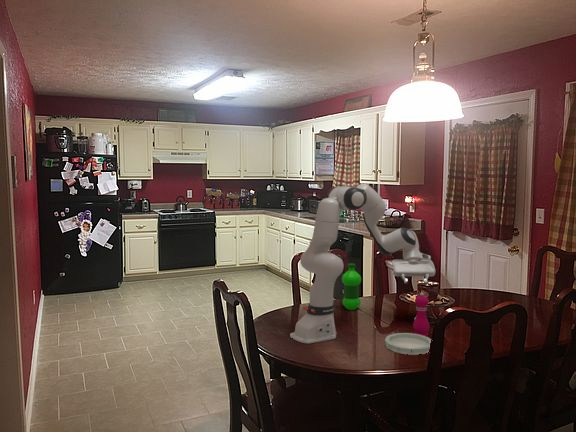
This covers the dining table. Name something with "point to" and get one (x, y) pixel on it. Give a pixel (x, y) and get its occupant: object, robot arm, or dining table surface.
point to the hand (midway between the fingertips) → (416, 282)
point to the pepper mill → (421, 316)
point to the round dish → (408, 343)
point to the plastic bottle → (351, 288)
